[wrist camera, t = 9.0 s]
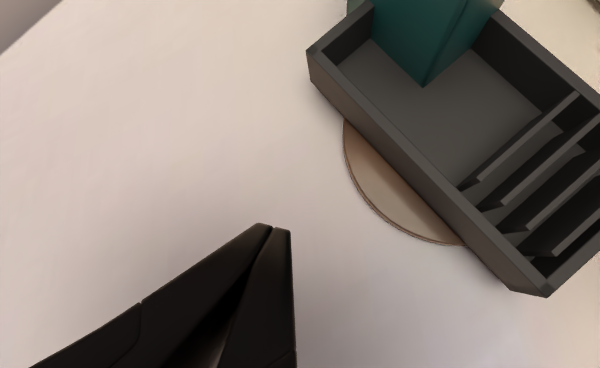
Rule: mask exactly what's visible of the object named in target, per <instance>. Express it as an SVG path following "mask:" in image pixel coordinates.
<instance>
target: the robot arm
mask: <svg viewBox="0 0 600 368" xmlns="http://www.w3.org/2000/svg"><path fill="white" fill-rule="evenodd" d="M29 368H297V352H296V335H295V315H294V294H293V274H292V253H291V234H290V231H289V230H286V229H282V228H278V227H275V228H273V227H272V226H270V225H266V224H263V223H256V224H255V225H253V226H252V227H250V228H249V229H247V230H246V231H244V232H243V233H241V234H240V235H238V236H237V237H235V238H234V239H232V240H231V241H229V242H228V243H226V244H225V245H223V246H222V247H220V248H219V249H217V250H216V251H214V252H213V253H211V254H210V255H208V256H207V257H206V258H204V259H203V260H201V261H200V262H198V263H197V264H195V265H194V266H192V267H191V268H189V269H188V270H186V271H185V272H183V273H182V274H180V275H179V276H177V277H176V278H174V279H173V280H171V281H170V282H168V283H167V284H165V285H164V286H162V287H161V288H159V289H158V290H156V291H155V292H153V293H152V294H150V295H149V296H147V297H146V298H144V299H143V300H142V301H141V303H137V304H135V305H134V306H132V307H131V308H129V309H128V310H126V311H125V312H123V313H122V314H120V315H119V316H117V317H116V318H114V319H112V320H111V321H109V322H108V323H106V324H105V325H103V326H101V327H100V328H98V329H97V330H95V331H93V332H91V333H90V334H88V335H86V336H85V337H83V338H81V339H79V340H78V341H76V342H74V343H72V344H71V345H69V346H67V347H65V348H64V349H62V350H60V351H58V352H56V353H55V354H53V355H51V356H49V357H47V358H45V359H44V360H42V361H40V362H38V363H36V364H35V365H33V366H31V367H29Z"/></svg>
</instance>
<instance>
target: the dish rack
mask: <svg viewBox="0 0 600 368" xmlns="http://www.w3.org/2000/svg"><path fill="white" fill-rule="evenodd" d="M503 2H504V0H347V16H346V17H345V18H344V19H343V20H342V21H340V22H339V23H338V24H337V25H336V26H334V27H333V28H332V29H331V30H330V31H328V32H327V33H326V34H325V35H324V36H322V37H321V38H320V39H319V40H318V41H316V42H315V43H314V44H313V45H312V46H310V47H309V48H308V49H307V50H306V56H307V62H308V68H309V74H310V80H311V82H312V83H313V84H314V85H315V86H316V87H317V89H318V90H319V91H320V92H321V93H322V94H323V95H324V96H325V97H326V98H327V99H328V100H329V101H330V102H331V103H332V104H333V105H334V106H335V107H336V108H337V109H338V111H339V112H340V113H341V114H342V115H343V116H344V117H345V118H346V119H347V120H348V121H349V122H350V123H351V124H352V125H353V126H354V127H355V128H356V129H357V130H358V131H359V133H360V134H361V135H362V136H363V137H364V138H365V139H366V140H367V141H368V142H369V143H370V144H371V145H372V146H373V147H374V148H375V149H376V150H377V151H378V152H379V153H380V155H381V156H382V157H383V158H384V159H385V160H386V161H387V162H388V163H389V164H390V165H391V166H392V167H393V168H394V169H395V170H396V171H397V172H398V173H399V174H400V176H401V177H402V178H403V179H404V180H405V181H406V182H407V183H408V184H409V185H410V186H411V187H412V188H413V189H414V190H415V191H416V192H417V193H418V194H419V195H420V196H421V198H422V199H423V200H424V201H425V202H426V203H427V204H428V205H429V206H430V207H431V208H432V209H433V210H434V211H435V212H436V213H437V214H438V215H439V216H440V217H441V218H442V220H443V221H444V222H445V223H446V224H447V225H448V226H449V227H450V228H451V229H452V230H453V231H454V232H455V233H456V234H457V235H458V236H459V237H460V238H461V239H462V240H463V242H464V243H465V244H466V245H467V246H468V247H469V248H470V249H471V250H472V251H473V252H474V253H475V254H476V255H477V256H478V257H479V258H480V259H481V260H482V261H483V263H484V264H485V265H486V266H487V267H488V268H489V269H490V270H491V271H492V272H493V273H494V274H495V275H496V276H497V277H498V278H499V279H500V280H501V281H502V282H503V283H504V285H505V286H506V287H507V288H508V289H509V290H511V291H515V292H520V293H524V294H529V295H534V296H539V297H544V298H548V297H549V296H550V295H551V294H552V293H554V292H555V291H556V290H557V289H558V288H559V287H560V286H561V285H562V284H563V283H565V282H566V281H567V280H568V279H569V278H570V277H571V276H572V275H573V274H575V273H576V272H577V271H578V270H579V269H580V268H581V267H582V266H583V265H584V264H586V263H587V262H588V261H589V260H590V259H591V258H592V257H593V256H594V255H595V254H597V253H598V252H599V251H600V94H599V93H597V92H596V91H595V90H594V89H593V88H592V87H590V86H589V85H588V84H587V83H586V82H584V81H583V80H582V79H581V78H580V77H579V76H577V75H576V74H575V73H574V72H573V71H571V70H570V69H569V68H568V67H567V66H566V65H564V64H563V63H562V62H561V61H560V60H558V59H557V58H556V57H555V56H554V55H553V54H551V53H550V52H549V51H548V50H547V49H545V48H544V47H543V46H542V45H541V44H540V43H538V42H537V41H536V40H535V39H534V38H532V37H531V36H530V35H529V34H528V33H527V32H525V31H524V30H523V29H522V28H521V27H519V26H518V25H517V24H516V23H515V22H514V21H512V20H511V19H510V18H509V17H508V16H507V15H505V14H504V13H503V12H502V11H501V10H499V8H500V6H501V5H502V3H503Z"/></svg>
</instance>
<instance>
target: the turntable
mask: <svg viewBox="0 0 600 368" xmlns="http://www.w3.org/2000/svg"><path fill="white" fill-rule="evenodd" d="M343 148H344V154H345V159H346V164H347V167H348V170H349V172H350V175H351V178H352V179H353V181H354V183H355V185H356V187H357V189H358V191H359V192H360V194H361V195H362V196H363V198H364V199H365V201H366V202H367V203H368V204H369V205H370V206H371V207H372V208H373V210H374V211H375V212H376V213H378V214H379V215H380V216H381V217H382V218H383V219H385V220H386V221H387V222H388V223H390V224H392V225H393V226H395V227H396V228H398V229H399V230H401V231H403V232H405V233H407V234H409V235H411V236H414V237H416V238H419V239H422V240H425V241H428V242H433V243H438V244H443V245H455V246H463V245H466V244H465V243H464V242H463V240H462V239H461V238H460V237H459V236H458V235H457V234H456V233H455V232H454V231H453V230H452V229H451V228H450V227H449V226H448V225H447V224H446V223H445V222H444V221H443V220H442V218H441V217H440V216H439V215H438V214H437V213H436V212H435V211H434V210H433V209H432V208H431V207H430V206H429V205H428V204H427V203H426V202H425V201H424V200H423V199H422V198H421V196H420V195H419V194H418V193H417V192H416V191H415V190H414V189H413V188H412V187H411V186H410V185H409V184H408V183H407V182H406V181H405V180H404V179H403V178H402V177H401V176H400V174H399V173H398V172H397V171H396V170H395V169H394V168H393V167H392V166H391V165H390V164H389V163H388V162H387V161H386V160H385V159H384V158H383V157H382V156H381V155H380V153H379V152H378V151H377V150H376V149H375V148H374V147H373V146H372V145H371V144H370V143H369V142H368V141H367V140H366V139H365V138H364V137H363V136H362V135H361V134H360V133H359V131H358V130H357V129H356V128H355V127H354V126H353V125H352V124H351V123H350V122H349V121H348V120H347V119H346V118H345V117H344V124H343Z"/></svg>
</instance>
